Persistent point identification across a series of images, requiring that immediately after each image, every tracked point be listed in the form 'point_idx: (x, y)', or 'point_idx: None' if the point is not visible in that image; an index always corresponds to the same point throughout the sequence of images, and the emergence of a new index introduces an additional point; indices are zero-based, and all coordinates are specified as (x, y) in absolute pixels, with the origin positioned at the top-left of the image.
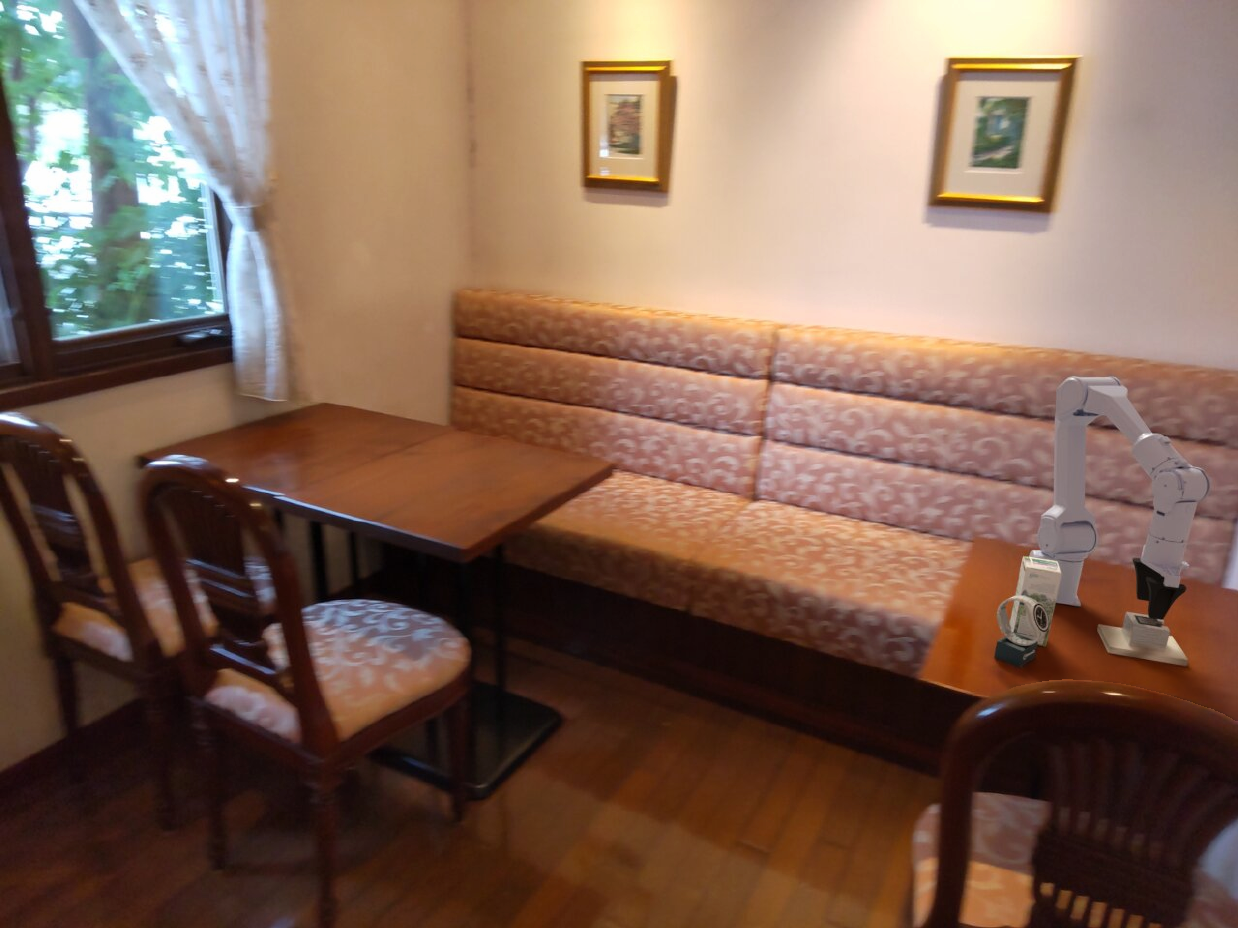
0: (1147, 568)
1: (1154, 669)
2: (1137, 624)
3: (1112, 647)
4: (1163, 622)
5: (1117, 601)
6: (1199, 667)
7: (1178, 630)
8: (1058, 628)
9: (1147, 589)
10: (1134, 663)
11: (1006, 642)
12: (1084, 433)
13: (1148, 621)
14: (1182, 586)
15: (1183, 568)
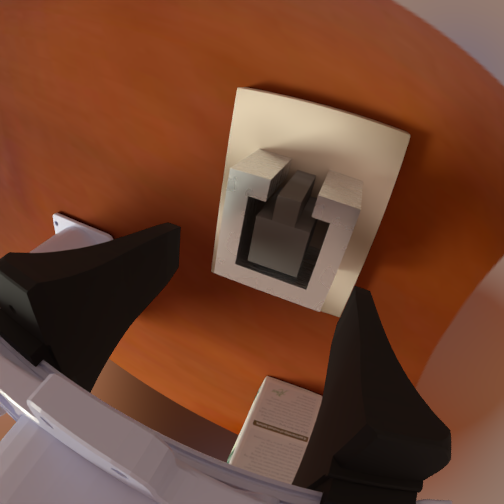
0: (84, 355)
1: (427, 243)
2: (313, 296)
3: (341, 311)
4: (271, 180)
5: (60, 134)
6: (409, 92)
7: (160, 34)
8: (233, 336)
9: (148, 270)
10: (395, 275)
11: None
12: None
13: (281, 244)
14: (412, 455)
15: (174, 465)
